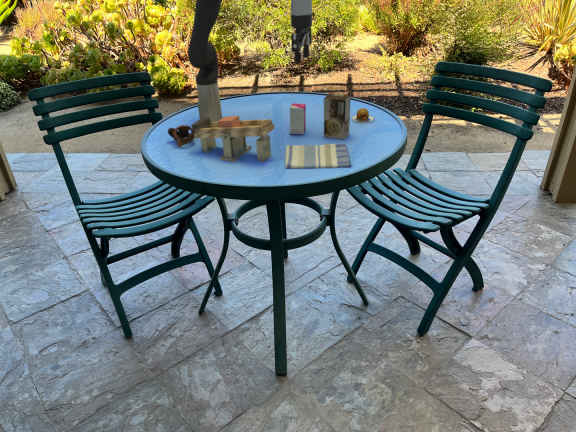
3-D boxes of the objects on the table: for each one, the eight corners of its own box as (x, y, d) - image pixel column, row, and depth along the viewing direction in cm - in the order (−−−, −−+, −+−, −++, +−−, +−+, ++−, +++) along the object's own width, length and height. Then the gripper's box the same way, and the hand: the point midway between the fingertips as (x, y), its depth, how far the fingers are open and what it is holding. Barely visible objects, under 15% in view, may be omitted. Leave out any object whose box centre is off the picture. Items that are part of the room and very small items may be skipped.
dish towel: (285, 149, 161) (285, 143, 159) (347, 148, 159) (347, 141, 158) (283, 170, 146) (283, 163, 145) (351, 169, 145) (351, 162, 143)
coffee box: (349, 134, 170) (351, 94, 161) (344, 140, 165) (346, 99, 156) (328, 131, 173) (329, 92, 165) (323, 137, 168) (323, 97, 160)
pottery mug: (200, 139, 173) (198, 126, 166) (191, 156, 169) (189, 144, 162) (173, 130, 174) (170, 117, 166) (163, 148, 169) (160, 135, 162)
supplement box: (304, 135, 171) (303, 108, 164) (289, 135, 172) (288, 107, 165) (306, 130, 175) (305, 103, 169) (292, 129, 176) (291, 103, 170)
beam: (195, 138, 157) (191, 124, 155) (207, 130, 163) (203, 117, 161) (264, 136, 144) (261, 121, 141) (274, 128, 150) (271, 114, 147)
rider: (220, 131, 153) (217, 121, 151) (227, 127, 156) (225, 116, 155) (234, 131, 150) (231, 120, 148) (241, 126, 154) (238, 116, 152)
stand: (197, 155, 158) (192, 130, 153) (215, 142, 168) (212, 118, 162) (259, 166, 148) (256, 140, 143) (274, 151, 158) (273, 126, 153)
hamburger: (382, 121, 182) (383, 109, 179) (361, 128, 177) (362, 115, 174) (363, 114, 191) (364, 102, 188) (343, 120, 185) (343, 108, 182)
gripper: (298, 9, 154) (299, 55, 163) (283, 15, 144) (285, 64, 152) (318, 9, 152) (317, 56, 161) (304, 15, 141) (304, 65, 150)
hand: (302, 60), depth 157 cm, fingers open, 8 cm apart
